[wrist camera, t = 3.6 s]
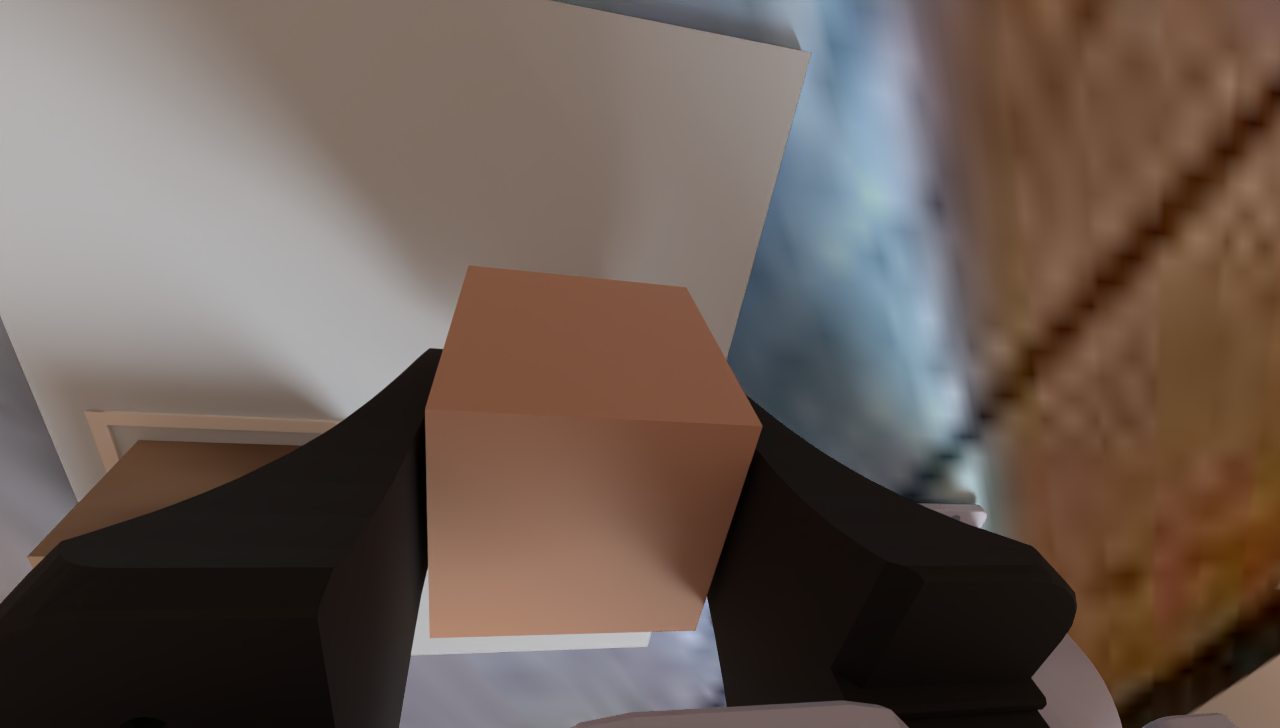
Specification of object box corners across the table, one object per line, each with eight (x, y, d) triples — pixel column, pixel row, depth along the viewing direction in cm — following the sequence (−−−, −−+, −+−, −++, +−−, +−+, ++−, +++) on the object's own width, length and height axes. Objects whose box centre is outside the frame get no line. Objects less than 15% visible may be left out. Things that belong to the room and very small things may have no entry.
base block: (375, 448, 17) (333, 555, 14) (385, 585, 20) (353, 701, 16) (138, 439, 16) (27, 556, 12) (186, 587, 19) (107, 714, 15)
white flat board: (802, 51, 14) (813, 52, 13) (645, 635, 24) (647, 648, 24) (-163, -142, 10) (-201, -151, 9) (154, 652, 20) (144, 668, 20)
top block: (686, 287, 12) (762, 426, 8) (650, 452, 14) (695, 630, 10) (468, 265, 11) (424, 409, 7) (464, 445, 14) (429, 638, 9)
